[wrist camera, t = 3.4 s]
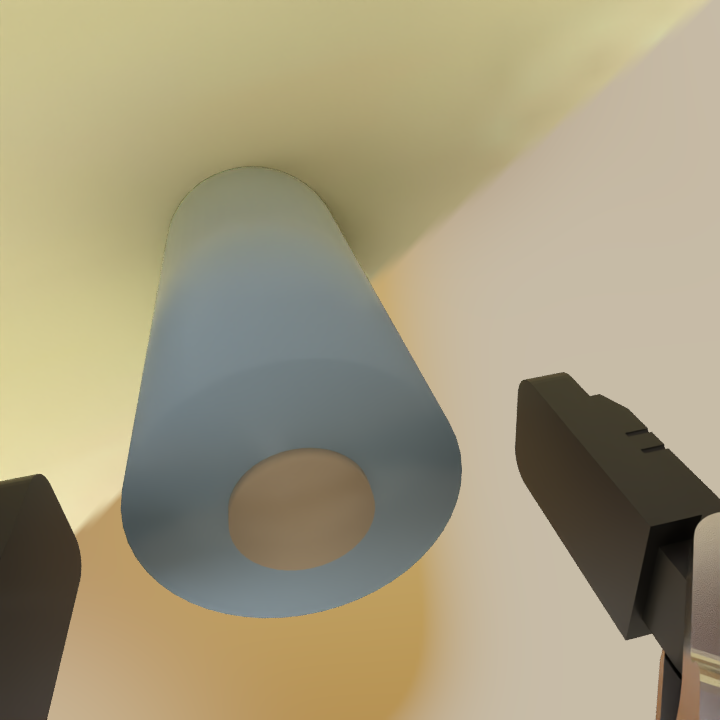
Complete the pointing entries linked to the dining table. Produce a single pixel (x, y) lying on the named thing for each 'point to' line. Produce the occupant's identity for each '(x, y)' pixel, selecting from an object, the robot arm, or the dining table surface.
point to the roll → (278, 414)
